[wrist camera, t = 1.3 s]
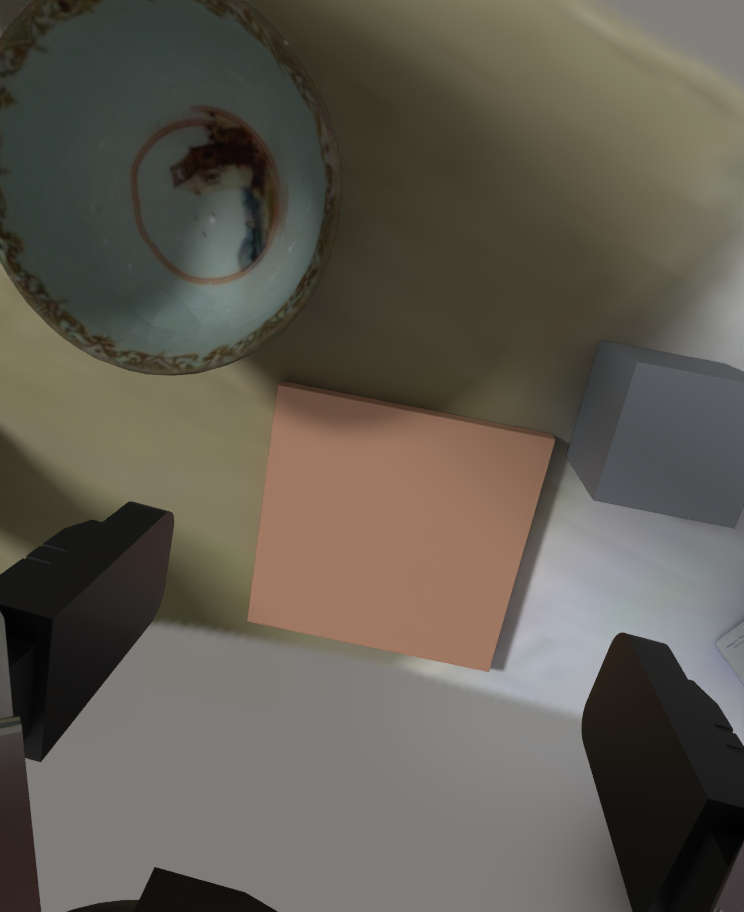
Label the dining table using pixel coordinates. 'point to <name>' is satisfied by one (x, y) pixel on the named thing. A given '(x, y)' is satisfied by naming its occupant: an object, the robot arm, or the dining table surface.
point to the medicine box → (733, 649)
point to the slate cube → (662, 434)
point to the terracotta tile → (393, 524)
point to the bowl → (162, 178)
